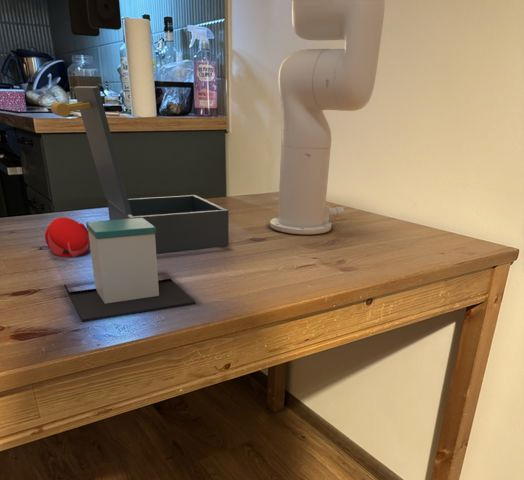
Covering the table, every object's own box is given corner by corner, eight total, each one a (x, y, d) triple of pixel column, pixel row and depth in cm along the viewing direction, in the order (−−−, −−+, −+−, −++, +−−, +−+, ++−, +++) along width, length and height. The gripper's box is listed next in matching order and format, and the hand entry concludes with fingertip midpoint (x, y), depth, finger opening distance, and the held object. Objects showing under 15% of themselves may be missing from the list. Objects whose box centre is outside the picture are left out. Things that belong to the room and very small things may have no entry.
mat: (163, 273, 74) (163, 271, 74) (195, 303, 64) (195, 301, 64) (64, 286, 68) (64, 284, 68) (82, 321, 58) (82, 319, 58)
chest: (196, 230, 98) (195, 194, 95) (228, 250, 86) (228, 210, 83) (111, 238, 91) (107, 200, 88) (133, 260, 79) (129, 217, 76)
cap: (101, 257, 80) (96, 220, 77) (65, 265, 76) (59, 225, 73) (76, 247, 85) (71, 211, 82) (42, 253, 81) (35, 216, 78)
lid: (78, 86, 79) (41, 92, 77) (98, 86, 67) (56, 93, 65) (109, 196, 88) (77, 204, 86) (132, 214, 76) (95, 223, 74)
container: (147, 282, 69) (142, 217, 65) (160, 296, 65) (155, 227, 61) (94, 289, 66) (85, 221, 62) (104, 304, 62) (95, 232, 58)
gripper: (137, -210, 42) (152, 28, 50) (92, -140, 56) (109, 40, 64) (43, -238, 39) (75, 22, 47) (19, -156, 52) (47, 35, 60)
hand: (95, 32), depth 55 cm, fingers open, 9 cm apart
